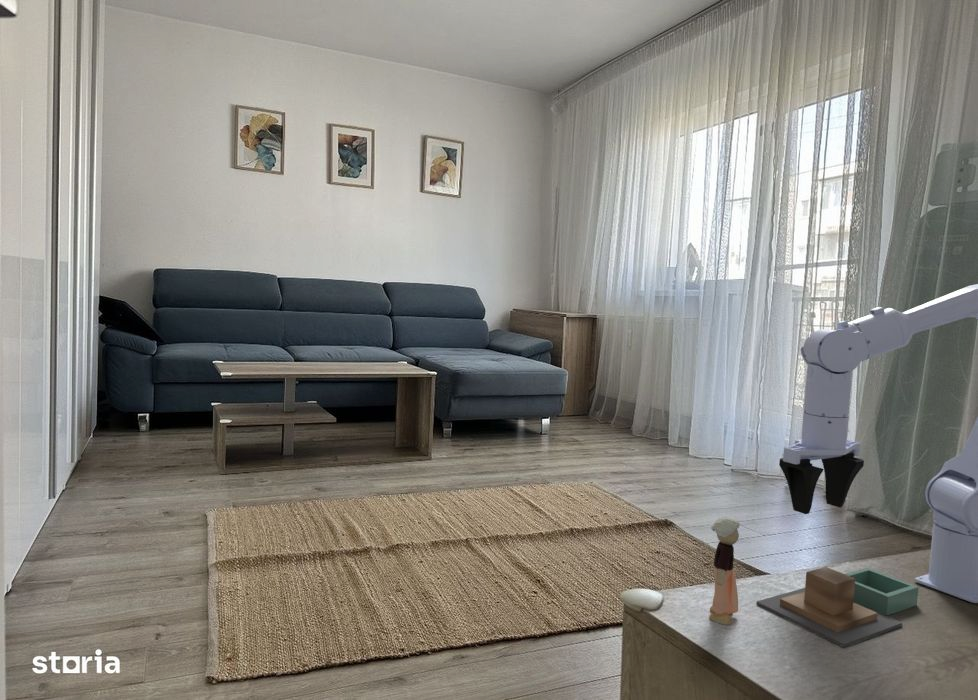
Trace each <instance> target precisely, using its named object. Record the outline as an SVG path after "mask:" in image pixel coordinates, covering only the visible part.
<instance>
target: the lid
mask: <svg viewBox="0 0 978 700" xmlns="http://www.w3.org/2000/svg"><path fill="white" fill-rule="evenodd" d="M805 574H806V575H805V582H804V583H805V584H804V588H805V592H802V593H799V594H795V595H792V596H788V597H785V598H781V599H780V605H781V606H784V607H786V608H788V609H790V610H792V611H794V612H796V613H798V614H800V615H802V616H804V617H806V618H809V619H811V620H813V621H815V622H817V623H819V624H821V625H823V626H825V627H827V628H829V629H831V630H833V631H836V632H841V631H844V630H847V629H850V628H853V627H856V626H858V625H861V624H864V623H867V622H870V621H873V620H876V619H877V614H878V613H879V612H878V613H877V611H876V612H874V611H872V609H871V610H870V608H869V609H867V608H865V606H864V607H863V605H862V606H860V605H858V603H857V604H856V602H855V603H853V599H854V588H855V578H853V577H850V576H848V575H845V574H846V573H843V572H840V571H837V570H834V569H833V568H829V567H827V566H824V567H820V568H817V569H813V570H809V571H806V572H805Z"/></svg>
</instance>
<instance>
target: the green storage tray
mask: <svg viewBox="0 0 978 700" xmlns="http://www.w3.org/2000/svg"><path fill="white" fill-rule="evenodd" d="M844 574H845V575H848V576H850V577H853V578H855V588H854V599H853V602H855V603H857V604H860V605H862V606H864V607H867V608H869V609H871V610H874V611H876V612H878V613H881V614H883V615H885V616H891V615H893V614H895V613H898V612H902V611H904V610H907V609H910V608H913V607H916V606H917V605H918V598H919V597H918V596H919V586H917V585H915V584H912V583H909V582H906V581H904V580H901V579H898V578H896V577H894V576H893V577H892V576H890V575H888V574H885V573H883V572H880V571H877V570H874V569H872V568H869V567H865V568H861V569H857V570H854V571H850V572H846V573H844Z"/></svg>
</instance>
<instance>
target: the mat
mask: <svg viewBox="0 0 978 700" xmlns="http://www.w3.org/2000/svg"><path fill="white" fill-rule="evenodd" d="M802 592H805V587H803V588H799V589H796V590H792V591H789V592H785V593H781V594H778V595H774V596H771V597H768V598H764V599H760V600H757V601H756V603H755V604H756V605H757V606H759V607H761V608H763V609H764V610H767V611H769V612H771V613H773V614H775V615H777V616H778V617H780V618H784V619H785V620H787V621H789V622H790V623H793V624H795V625H797V626H799V627H801V628H804V629H806V630H807V631H810V632H811V633H813V634H815V635H817V636H819V637H821V638H823V639H825V640H828V641H830V642H831V643H834V644H835V645H837V646H839V647H842V648H846V647H848V646H851V645H855V644H856V643H859V642H863V641H865V640H868V639H871V638H874V637H876V636H878V635H879V636H880V635H881V634H884V633H888V632H890V631H892V630H895V629H898V628H900V627H903V622H901V621H899V620H897V619H894V618H892V617H890V616H889V615H887V616H886V615H884V614H881V613H879V612H877V611H874V610H872V609H870V608H867V607H865V606H863V605H860V604H858V603H856V602H853V603H856V604H858V605H860V606H863V607H865V608H867V609H870V610H872V611H874V612H877V613H878V614H877V619H876V620H873V621H870V622H867V623H864V624H861V625H858V626H856V627H853V628H850V629H847V630H844V631H841V632H836V631H833V630H831V629H829V628H827V627H825V626H823V625H821V624H819V623H817V622H815V621H813V620H811V619H809V618H806V617H804V616H802V615H800V614H798V613H796V612H794V611H792V610H790V609H788V608H786V607H784V606H781V605H780V599H781V598H785V597H788V596H792V595H795V594H799V593H802Z"/></svg>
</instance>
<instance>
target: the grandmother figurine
mask: <svg viewBox="0 0 978 700" xmlns="http://www.w3.org/2000/svg"><path fill="white" fill-rule="evenodd" d="M740 524H741V523H740V521H739V519H737V518H736V517H733V516H730V515H723V516H721V517H719V518H718V519H716V520H715V522H714V523H713V524H712V525H711V527H710V529H711V531H713V532H715V533H716V537H717V539H718V541H719V542H718V543H717V546H716V549H715V554H714V560H713V566H714V570H713V579H714V581H713V582H714V595H713V600H712V603H711V607H710V608H709V611H710V614H709V617H708V619H710V620H711V621H713V622H717V623H718V624H721V625H726V626H729V625H732V624H733V621H734V620H733V618H732V616H733V615H734V614H736V613H737V612H739V595H738V593H739V592H738V586H737V579H736V574H735V570H734V560H735V556H734V551H735V550H734V549H735V548H734V546H733V545H735V544H736V543H738V542H737V541H738V540H739V533H740V532H739V530H738V529H739V528H740V526H741V525H740Z"/></svg>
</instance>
